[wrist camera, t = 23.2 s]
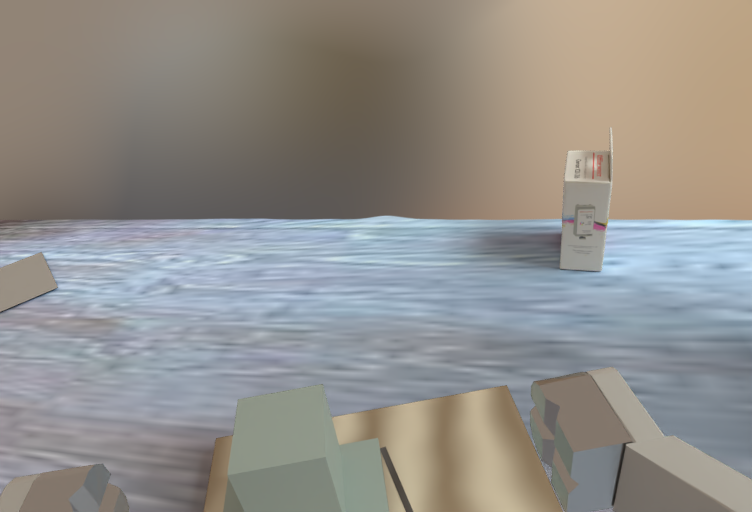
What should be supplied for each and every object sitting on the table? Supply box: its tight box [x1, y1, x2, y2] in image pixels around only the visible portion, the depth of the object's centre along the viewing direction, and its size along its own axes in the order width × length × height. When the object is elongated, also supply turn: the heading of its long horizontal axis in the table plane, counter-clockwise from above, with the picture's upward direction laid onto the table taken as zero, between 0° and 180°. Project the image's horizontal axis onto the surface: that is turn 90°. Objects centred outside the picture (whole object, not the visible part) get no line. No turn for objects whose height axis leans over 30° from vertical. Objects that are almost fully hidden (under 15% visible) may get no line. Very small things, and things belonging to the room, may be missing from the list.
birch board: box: [204, 385, 563, 512], centre depth 40 cm, size 26×16×2 cm, turn 97°
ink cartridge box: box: [559, 127, 613, 271], centre depth 61 cm, size 9×5×15 cm, turn 161°
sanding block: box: [223, 384, 389, 512], centre depth 36 cm, size 12×8×9 cm, turn 97°
